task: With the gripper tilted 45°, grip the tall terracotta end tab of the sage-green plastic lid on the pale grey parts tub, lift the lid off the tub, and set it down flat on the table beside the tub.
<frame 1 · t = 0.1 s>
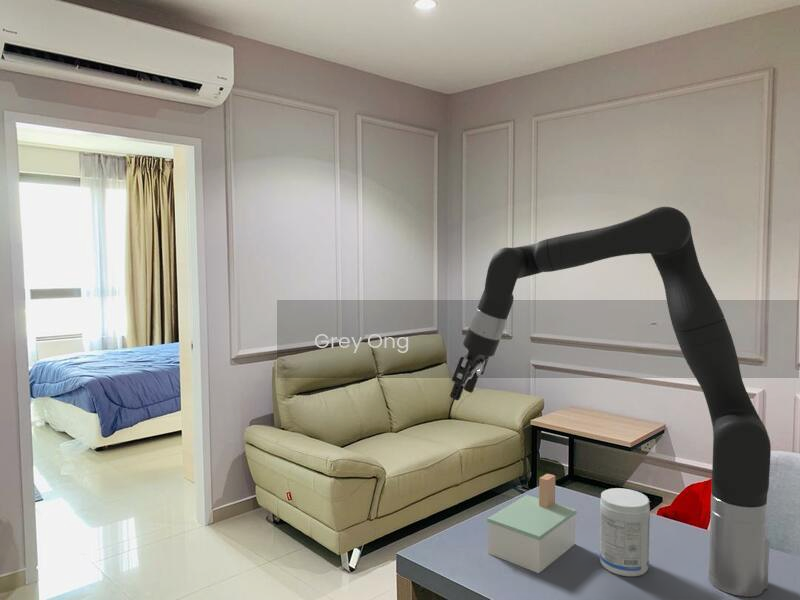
hand: (461, 394, 138), 31 cm above the table, tool tilted 20°, fingers open, 8 cm apart
parts tub: (532, 548, 129), on the table
lid: (532, 521, 129), point 6 cm above the table, touching parts tub
supplement tub: (623, 566, 122), on the table
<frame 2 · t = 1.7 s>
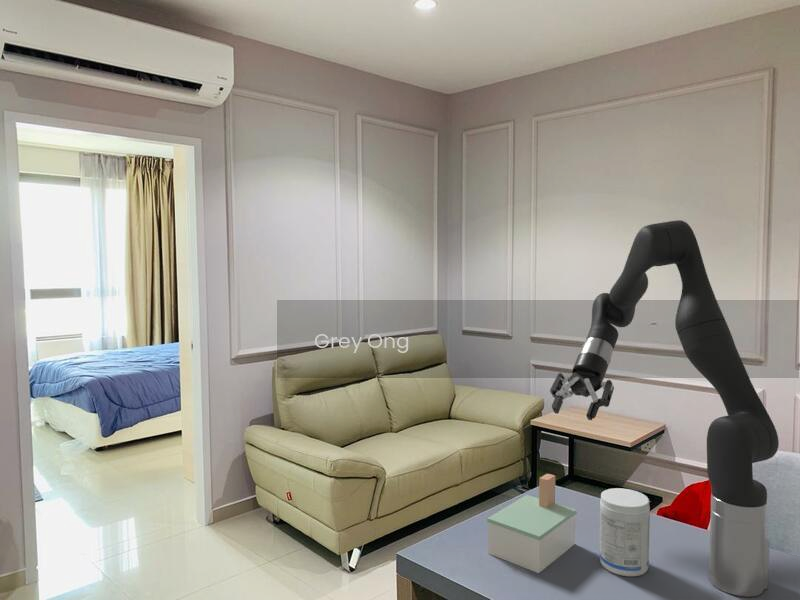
hand: (571, 415, 140), 26 cm above the table, tool tilted 45°, fingers open, 8 cm apart
nothing on the table moved.
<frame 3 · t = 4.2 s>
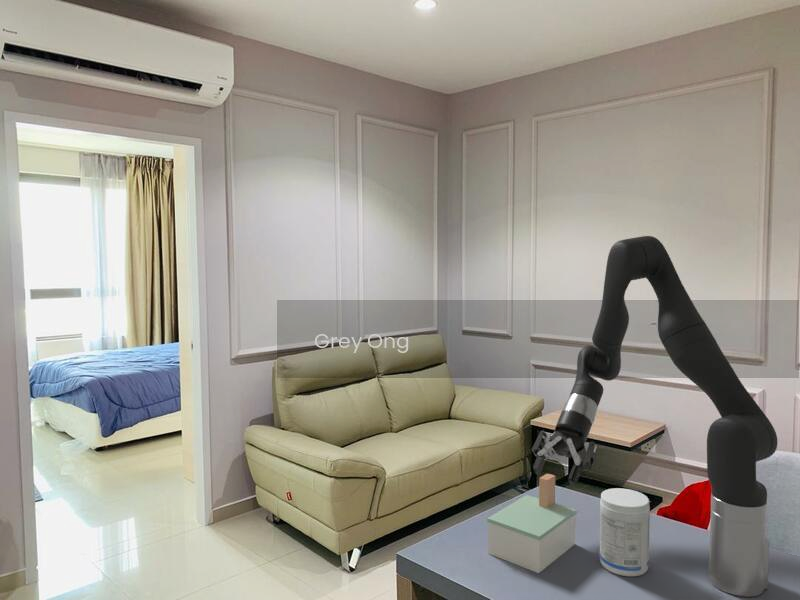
hand: (553, 477, 135), 13 cm above the table, tool tilted 45°, fingers open, 8 cm apart
nothing on the table moved.
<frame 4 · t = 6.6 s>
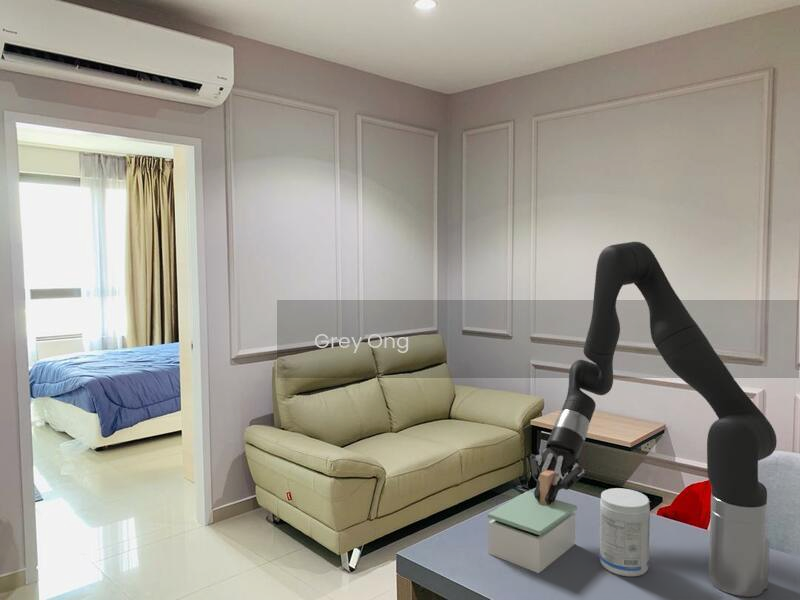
hand: (542, 500, 132), 9 cm above the table, tool tilted 45°, fingers closed on lid
lid: (532, 516, 129), point 7 cm above the table, touching gripper
everything else where it was.
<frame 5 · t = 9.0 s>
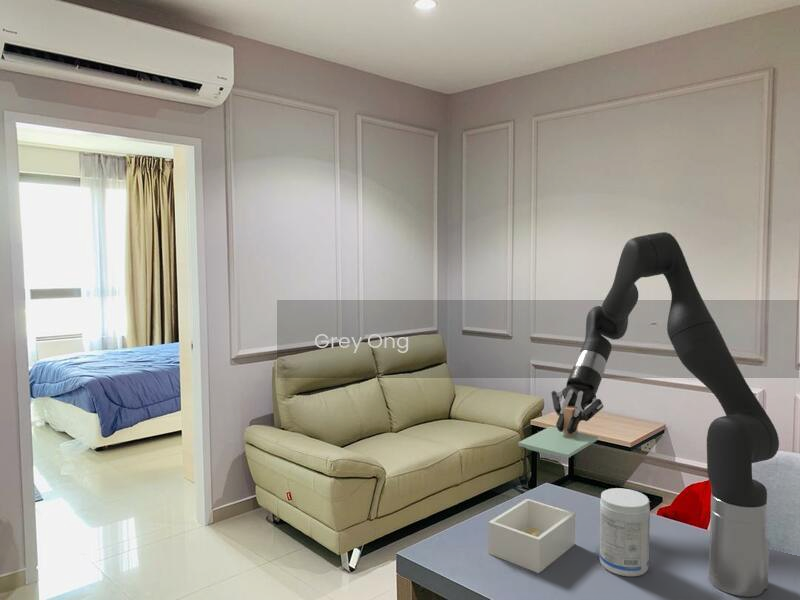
hand: (564, 431, 144), 21 cm above the table, tool tilted 45°, fingers closed on lid
lid: (558, 446, 142), point 18 cm above the table, touching gripper
everything else where it was.
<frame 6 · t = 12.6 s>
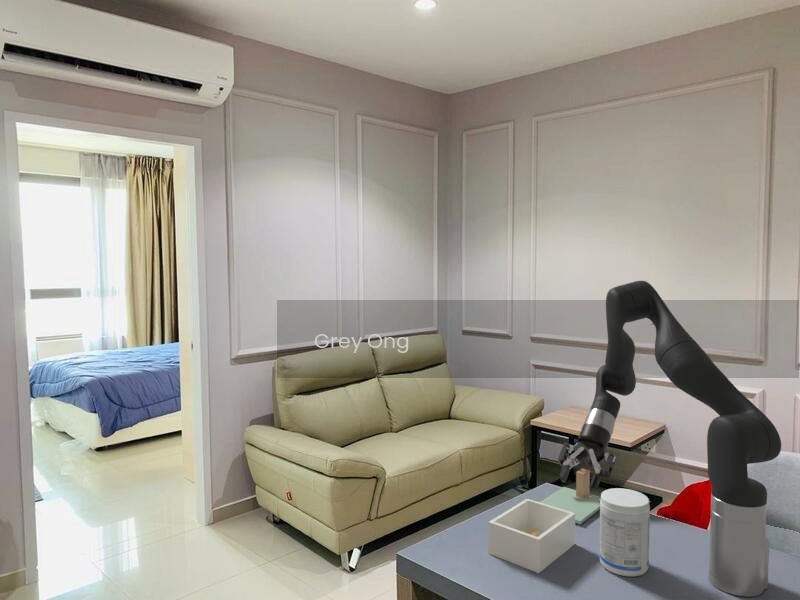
hand: (577, 484, 152), 5 cm above the table, tool tilted 45°, fingers open, 7 cm apart
lid: (571, 508, 150), on the table
everything else where it was.
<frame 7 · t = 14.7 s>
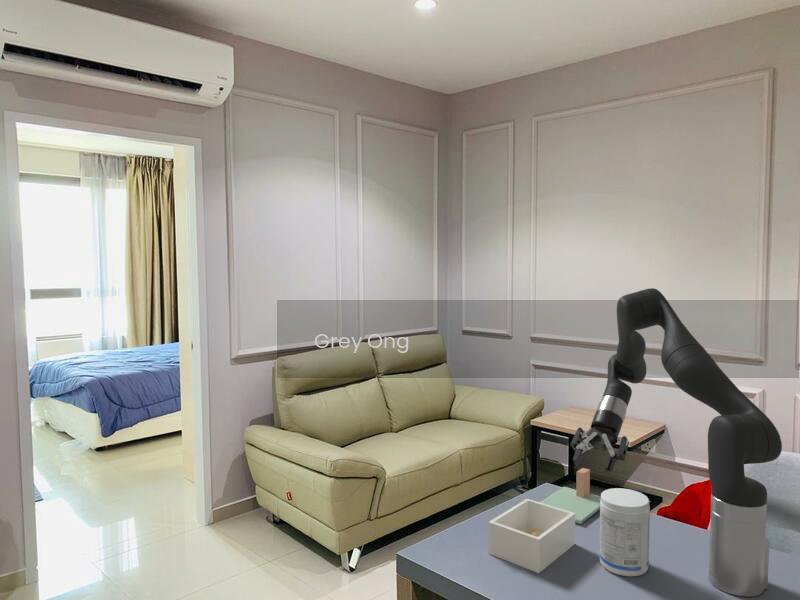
hand: (591, 467, 157), 7 cm above the table, tool tilted 45°, fingers open, 8 cm apart
nothing on the table moved.
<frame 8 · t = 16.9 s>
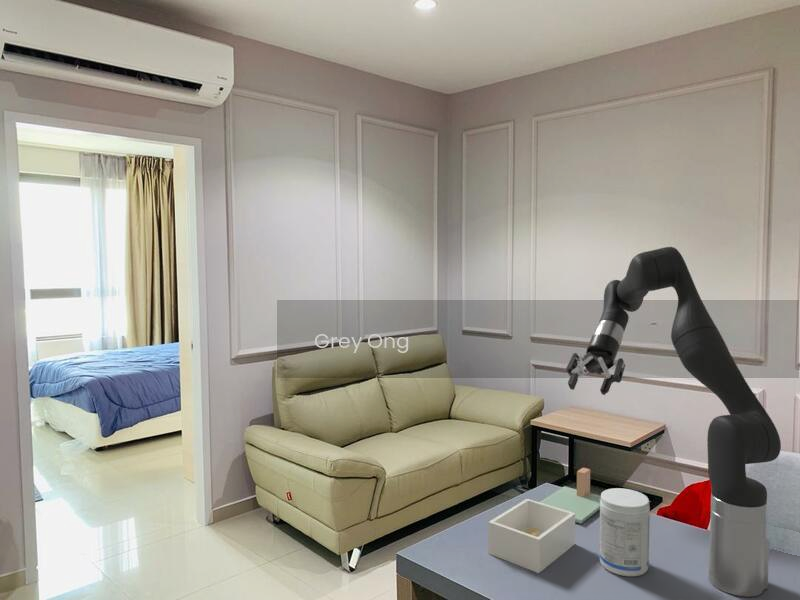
hand: (586, 390, 153), 29 cm above the table, tool tilted 45°, fingers open, 8 cm apart
nothing on the table moved.
at the end: lid touching table; lid moved 26.6 cm from its start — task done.
